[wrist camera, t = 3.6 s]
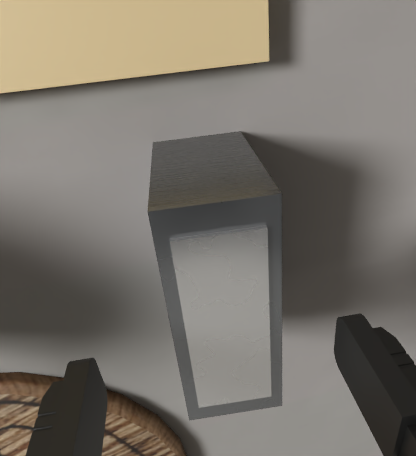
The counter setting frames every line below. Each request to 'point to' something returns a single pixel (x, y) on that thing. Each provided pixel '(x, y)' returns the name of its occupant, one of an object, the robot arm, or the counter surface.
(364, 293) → the counter surface
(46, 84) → the yellow peg board
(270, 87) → the counter surface
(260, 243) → the grey rectangular block
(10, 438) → the trivet
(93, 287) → the counter surface
